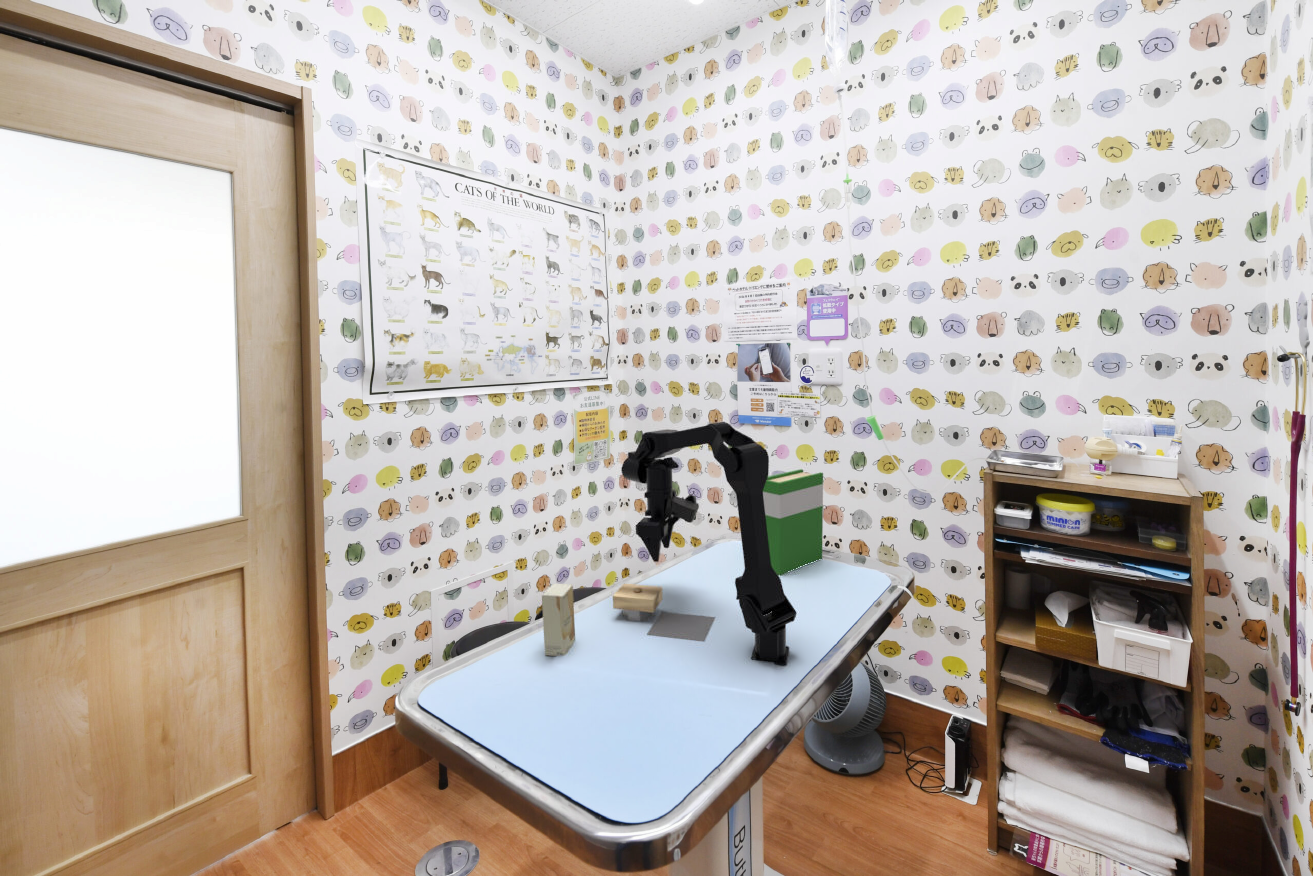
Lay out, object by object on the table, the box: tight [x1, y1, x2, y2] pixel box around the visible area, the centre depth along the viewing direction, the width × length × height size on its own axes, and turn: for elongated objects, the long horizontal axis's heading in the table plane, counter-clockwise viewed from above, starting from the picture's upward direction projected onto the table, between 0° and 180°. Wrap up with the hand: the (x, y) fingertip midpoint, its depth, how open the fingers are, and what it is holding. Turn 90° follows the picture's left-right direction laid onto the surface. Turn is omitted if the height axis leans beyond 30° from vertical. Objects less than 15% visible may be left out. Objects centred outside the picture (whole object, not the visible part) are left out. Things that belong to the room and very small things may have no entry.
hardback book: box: [763, 468, 824, 576], centre depth 157 cm, size 18×7×24 cm, turn 128°
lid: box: [612, 583, 664, 613], centre depth 128 cm, size 7×9×3 cm
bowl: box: [622, 609, 655, 623], centre depth 129 cm, size 6×6×3 cm
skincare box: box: [541, 583, 576, 657], centre depth 115 cm, size 6×4×12 cm
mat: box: [646, 611, 716, 642], centre depth 123 cm, size 11×12×1 cm
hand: (661, 554), depth 133 cm, fingers open, 9 cm apart
